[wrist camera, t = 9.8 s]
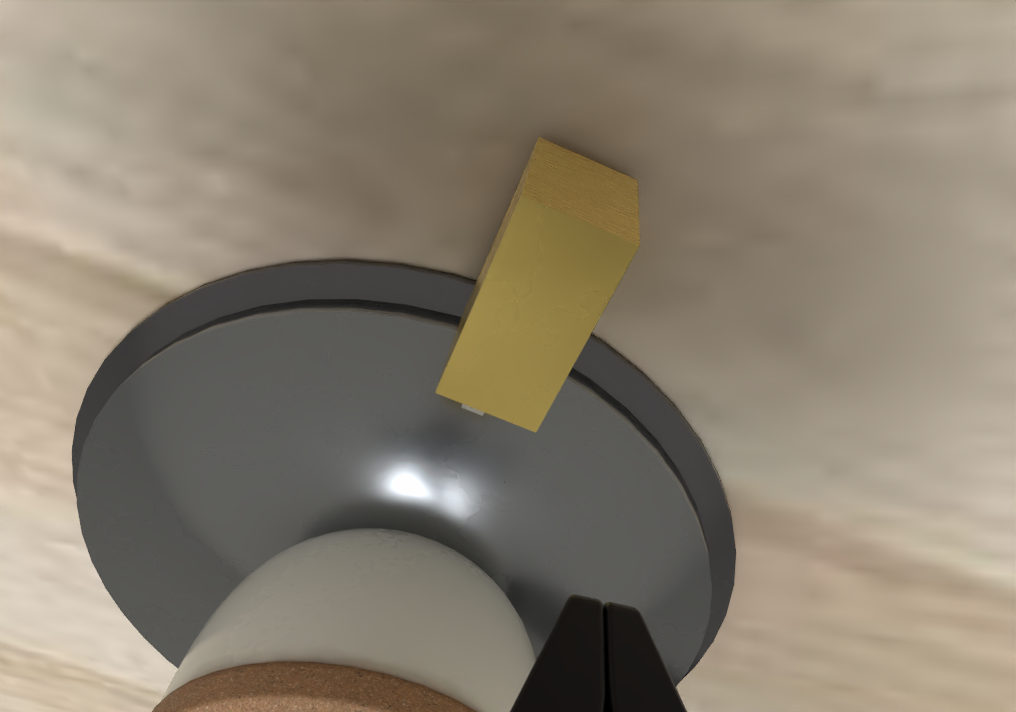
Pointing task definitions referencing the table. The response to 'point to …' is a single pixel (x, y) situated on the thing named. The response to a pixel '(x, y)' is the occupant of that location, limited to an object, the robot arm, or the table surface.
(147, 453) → the turntable
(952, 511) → the table surface
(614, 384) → the turntable base
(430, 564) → the lidded jar
